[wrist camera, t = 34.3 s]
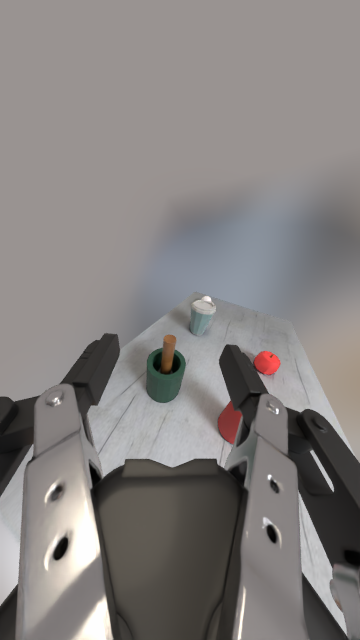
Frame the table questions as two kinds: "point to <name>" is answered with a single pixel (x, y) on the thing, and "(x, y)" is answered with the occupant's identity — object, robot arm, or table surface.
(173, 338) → the brown and grey cylinder
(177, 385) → the green cup
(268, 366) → the apple
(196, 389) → the table surface
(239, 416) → the beer can
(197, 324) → the disposable coffee cup
